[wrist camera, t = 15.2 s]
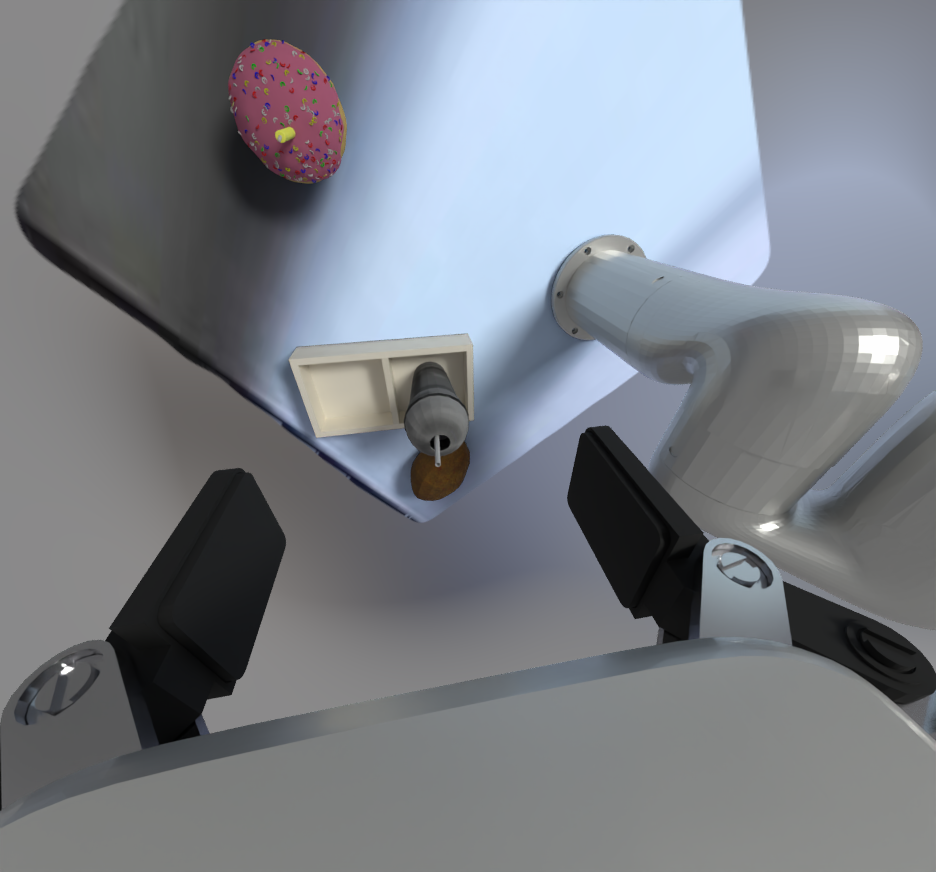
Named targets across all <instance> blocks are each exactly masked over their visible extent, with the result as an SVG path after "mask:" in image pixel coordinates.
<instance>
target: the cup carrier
mask: <svg viewBox="0 0 936 872" xmlns="http://www.w3.org/2000/svg"><path fill="white" fill-rule="evenodd" d="M289 362H290V365H291V368H292V371H293V374H294V376H295V379H296V382H297V385H298V388H299V390H300V393H301V396H302V399H303V402H304V404H305V407H306V410H307V413H308V416H309V418H310V421H311V424H312V427H313V430H314V432H315V435H316V438H318V437H328V436H337V435H346V434H355V433H364V432H374V431H383V430H392V429H401V428H405V427H404V417H405V412H406V411H407V408H408V405H409V402H410V394H411V386H412V380H413V375H414V371H415V370H416V368H417V367H418V366H419V365H420V364H422V363H425V362H435V363H438V364H439V365H441V366H442V367H443V368H444V370H445V372H446V373H447V376H448V378H449V380H450V382H451V384H452V386H453V389H454V391H455V393H456V395H457V397H458V398H459V399H460V401H461V402H462V403H463V404H464V405H465V407H466V409H467V412H468V414H469V421H474V385H473V344H472V342H471V339H470V337H469V335H468V334H455V335H442V336H429V337H417V338H404V339H391V340H378V341H366V342H353V343H340V344H327V345H315V346H302V347H297V348H296V349H295V351H294V352H293V354H292V355H291V357H290V358H289Z"/></svg>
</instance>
